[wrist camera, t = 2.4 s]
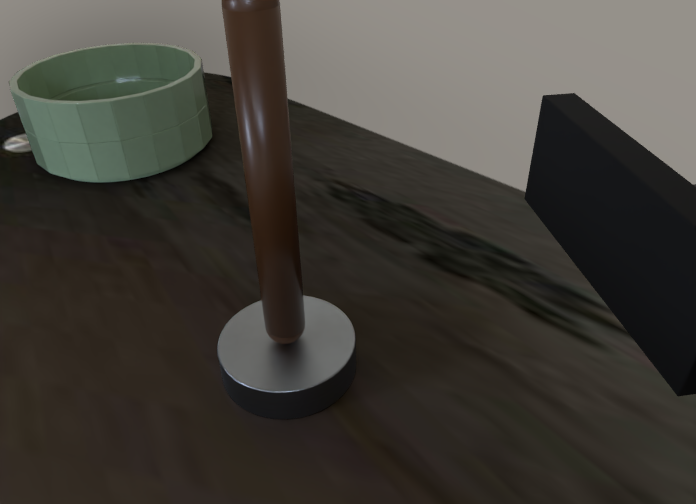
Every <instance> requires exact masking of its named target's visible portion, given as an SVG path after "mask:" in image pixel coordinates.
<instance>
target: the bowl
mask: <svg viewBox="0 0 696 504" xmlns="http://www.w3.org/2000/svg"><path fill="white" fill-rule="evenodd" d="M9 85H10V90H11V93H12V96H13V99H14V102H15V104H16V107H17V110H18V113H19V115H20V118H21V121H22V124H23V126H24V129H25V132H26V135H27V137H28V140H29V143H30V146H31V148H32V151H33V154H34V157H35V160H36V162H37V164H38V165H39V166H41V167H42V168H43V169H45V170H46V171H47V172H49V173H50V174H54V175H57V176H61V177H65V178H68V179H72V180H77V181H84V182H118V181H127V180H133V179H138V178H143V177H148V176H151V175H155V174H158V173H161V172H164V171H167V170H169V169H172V168H174V167H177V166H179V165H181V164H183V163H184V162H186V161H188V160H189V159H191V158H192V157H193V156H195V155H196V154H197V153H198V152H199V151H201V150H202V149H204V147H205V146H206V145H207V143H208V142H209V141H210V139H211V138H212V121H211V114H210V108H209V102H208V96H207V90H206V84H205V77H204V71H203V65H202V59H201V58H200V57H199V56H198V55H197V54H196V53H195V52H193V51H191V50H188V49H185V48H182V47H179V46H173V45H166V44H158V43H125V44H124V43H123V44H108V45H102V46H95V47H88V48H82V49H77V50H73V51H69V52H65V53H61V54H57V55H53V56H51V57H48V58H45V59H42V60H39V61H37V62H34V63H32V64H30V65H28V66H27V67H25V68H23V69H21V70H20V71H18V72H17V73H16V74H15V75H14V76H13V77H12V79H11V80H10V81H9Z"/></svg>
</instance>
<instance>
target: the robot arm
mask: <svg viewBox="0 0 696 504" xmlns="http://www.w3.org/2000/svg"><path fill="white" fill-rule="evenodd" d="M525 200H526V201H527V203H528V204H529V205H530V207H531V208H532V209H533V210H534V212H535V213H536V214H537V216H538V217H539V218H540V219H541V221H542V222H543V223H544V225H545V226H546V227H547V228H548V230H549V231H550V232H551V234H552V235H553V236H554V237H555V239H556V240H557V241H558V243H559V244H560V245H561V246H562V248H563V249H564V250H565V252H566V253H567V254H568V255H569V257H570V258H571V259H572V261H573V262H574V263H575V264H576V266H577V267H578V268H579V270H580V271H581V272H582V273H583V275H584V276H585V277H586V279H587V280H588V281H589V282H590V284H591V285H592V286H593V288H594V289H595V290H596V291H597V293H598V294H599V295H600V297H601V298H602V299H603V301H604V302H605V303H606V304H607V306H608V307H609V308H610V310H611V311H612V312H613V313H614V315H615V316H616V317H617V319H618V320H619V321H620V322H621V324H622V325H623V326H624V328H625V329H626V330H627V331H628V333H629V334H630V335H631V337H632V338H633V339H634V340H635V342H636V343H637V344H638V346H639V347H640V348H641V349H642V351H643V352H644V353H645V355H646V356H647V357H648V358H649V360H650V361H651V362H652V364H653V365H654V366H655V367H656V369H657V370H658V371H659V373H660V374H661V375H662V376H663V378H664V379H665V380H666V382H667V383H668V384H669V385H670V387H671V388H672V389H673V391H674V392H675V393H676V394H677V396H683V395H691V394H696V185H692V184H691V183H690V182H689V181H687V180H686V179H685V178H683V177H682V176H681V175H680V174H678V173H677V172H676V171H674V170H673V169H672V168H670V167H669V166H668V165H667V164H665V163H664V162H663V161H661V160H660V159H659V158H658V157H656V156H655V155H654V154H652V153H651V152H650V151H648V150H647V149H646V148H645V147H643V146H642V145H641V144H639V143H638V142H637V141H636V140H634V139H633V138H631V137H630V136H629V135H628V134H626V133H625V132H624V131H622V130H621V129H620V128H619V127H617V126H616V125H615V124H613V123H612V122H611V121H610V120H608V119H607V118H606V117H604V116H603V115H602V114H601V113H599V112H598V111H596V110H595V109H594V108H593V107H591V106H590V105H589V104H588V103H586V102H585V101H584V100H582V99H581V98H580V97H578V96H577V95H576V94H574V93H573V94H572V93H571V94H557V95H544V96H543V98H542V104H541V109H540V115H539V121H538V126H537V132H536V138H535V143H534V148H533V155H532V160H531V165H530V171H529V177H528V183H527V188H526V194H525Z"/></svg>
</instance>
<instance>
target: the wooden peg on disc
mask: <svg viewBox="0 0 696 504" xmlns="http://www.w3.org/2000/svg"><path fill="white" fill-rule="evenodd" d="M222 11H223V18H224V26H225V33H226V41H227V48H228V55H229V63H230V70H231V78H232V85H233V93H234V100H235V108H236V115H237V122H238V130H239V137H240V145H241V152H242V159H243V167H244V174H245V182H246V189H247V196H248V204H249V211H250V219H251V226H252V233H253V241H254V248H255V256H256V263H257V271H258V278H259V285H260V293H261V301H258V302H256V303H253V304H251V305H249V306H247V307H246V308H244V309H242V310H241V311H239V312H238V313H237V314H236V315H234V316H233V317H232V318H231V319H230V320H229V322H228V323H227V324H226V325H225V327H224V328H223V330H222V332H221V334H220V337H219V340H218V345H217V354H218V359H219V364H220V369H221V374H222V379H223V383H224V386H225V389H226V391H227V392H228V394H229V396H230V397H231V398H232V399H233V401H234V402H236V403H237V404H238V405H239V406H240V407H242V408H243V409H245V410H247V411H249V412H251V413H253V414H255V415H259V416H262V417H266V418H272V419H293V418H300V417H304V416H308V415H311V414H314V413H317V412H319V411H321V410H323V409H325V408H327V407H329V406H330V405H332V404H333V403H335V402H336V401H337V400H338V399H339V398H340V397H341V396H342V395H343V394H344V393H345V392H346V390H347V389H348V388H349V386H350V384H351V382H352V380H353V378H354V375H355V370H356V337H355V331H354V327H353V325H352V323H351V321H350V320H349V318H348V317H347V316H346V315H345V314H344V312H343V311H341V310H340V309H339V308H338V307H336V306H334V305H333V304H331V303H329V302H327V301H325V300H322V299H319V298H315V297H311V296H304V295H303V287H302V275H301V262H300V250H299V237H298V225H297V212H296V200H295V187H294V175H293V163H292V150H291V138H290V125H289V113H288V100H287V89H286V75H285V63H284V51H283V38H282V25H281V13H280V2H279V0H222Z"/></svg>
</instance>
